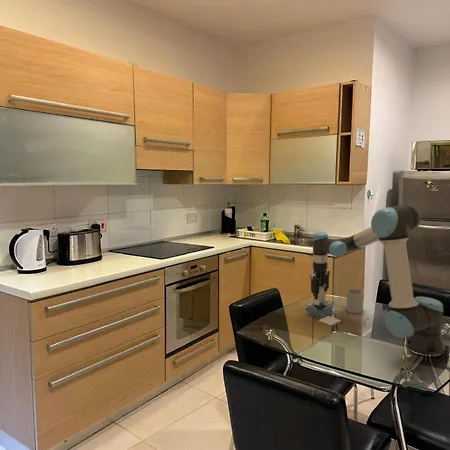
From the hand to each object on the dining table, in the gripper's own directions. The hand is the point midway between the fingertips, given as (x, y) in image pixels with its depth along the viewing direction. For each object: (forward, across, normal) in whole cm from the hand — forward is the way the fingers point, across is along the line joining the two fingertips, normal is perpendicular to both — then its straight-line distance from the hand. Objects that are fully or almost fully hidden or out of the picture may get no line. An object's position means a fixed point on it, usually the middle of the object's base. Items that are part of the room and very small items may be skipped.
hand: (320, 303), depth 219 cm
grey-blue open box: (+6, 0, -2) cm, 7 cm away
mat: (+6, +3, +9) cm, 11 cm away
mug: (+6, -18, +8) cm, 21 cm away
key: (+4, 0, 0) cm, 4 cm away
